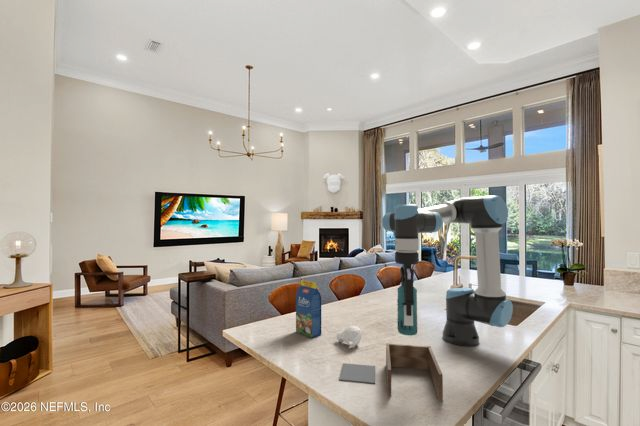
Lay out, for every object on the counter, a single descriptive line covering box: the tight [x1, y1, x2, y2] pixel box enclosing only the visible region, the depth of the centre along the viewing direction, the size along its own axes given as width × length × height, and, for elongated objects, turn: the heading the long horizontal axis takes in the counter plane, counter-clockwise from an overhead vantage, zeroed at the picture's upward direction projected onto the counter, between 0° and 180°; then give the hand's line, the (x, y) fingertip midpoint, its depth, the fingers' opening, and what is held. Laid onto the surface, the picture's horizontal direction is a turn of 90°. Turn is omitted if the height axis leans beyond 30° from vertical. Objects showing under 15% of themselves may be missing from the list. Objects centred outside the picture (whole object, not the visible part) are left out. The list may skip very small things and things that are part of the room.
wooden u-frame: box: [385, 342, 444, 402], centre depth 103 cm, size 16×21×8 cm
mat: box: [338, 363, 376, 385], centre depth 109 cm, size 12×12×1 cm
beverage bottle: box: [396, 275, 419, 336], centre depth 101 cm, size 6×7×20 cm
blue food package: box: [295, 279, 322, 339], centre depth 148 cm, size 6×12×25 cm, turn 42°
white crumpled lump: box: [336, 325, 363, 349], centre depth 134 cm, size 6×8×12 cm
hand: (407, 321), depth 101 cm, fingers closed on beverage bottle, 6 cm apart
